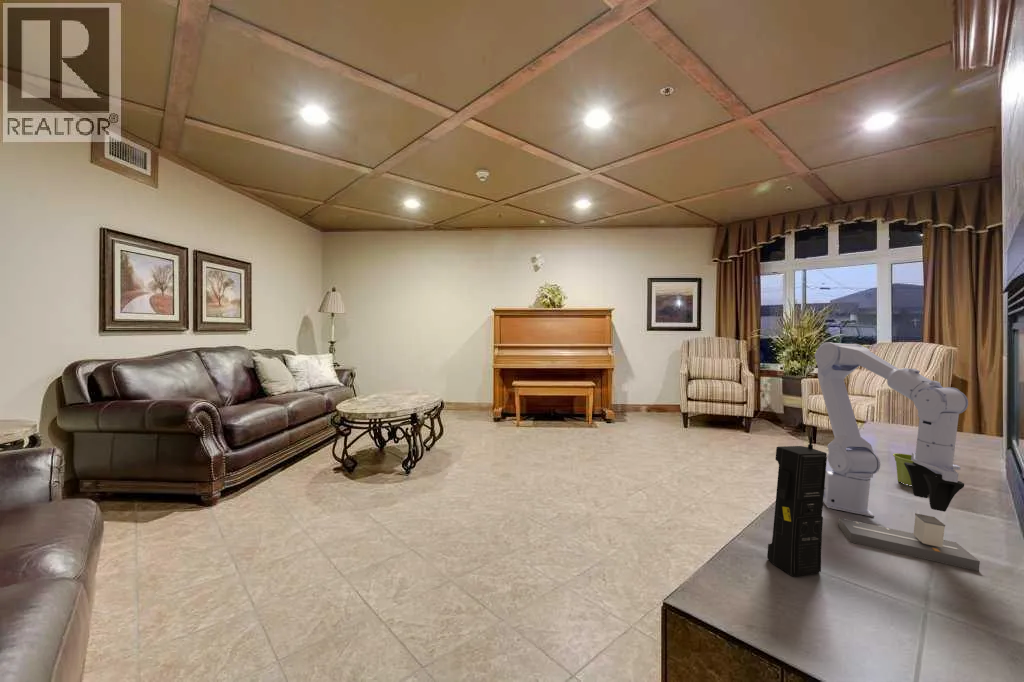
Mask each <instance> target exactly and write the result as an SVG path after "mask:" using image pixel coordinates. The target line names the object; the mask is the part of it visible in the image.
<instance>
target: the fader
mask: <svg viewBox="0 0 1024 682" xmlns="http://www.w3.org/2000/svg"><path fill="white" fill-rule="evenodd" d="M914 515H915V516H914V517H915V518H914V526H913V533H914V536H915V537H917V538H918V539H919V540H920V541H921V542H922V543H924V544H928V545H933V546H938V547H942V546H943V540H944V537H945V527H946V524H944V523H943V522H942V521H940V520H939V519H938V518H936V517H935V516H931V515H925V514H921V513H914Z"/></svg>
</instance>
